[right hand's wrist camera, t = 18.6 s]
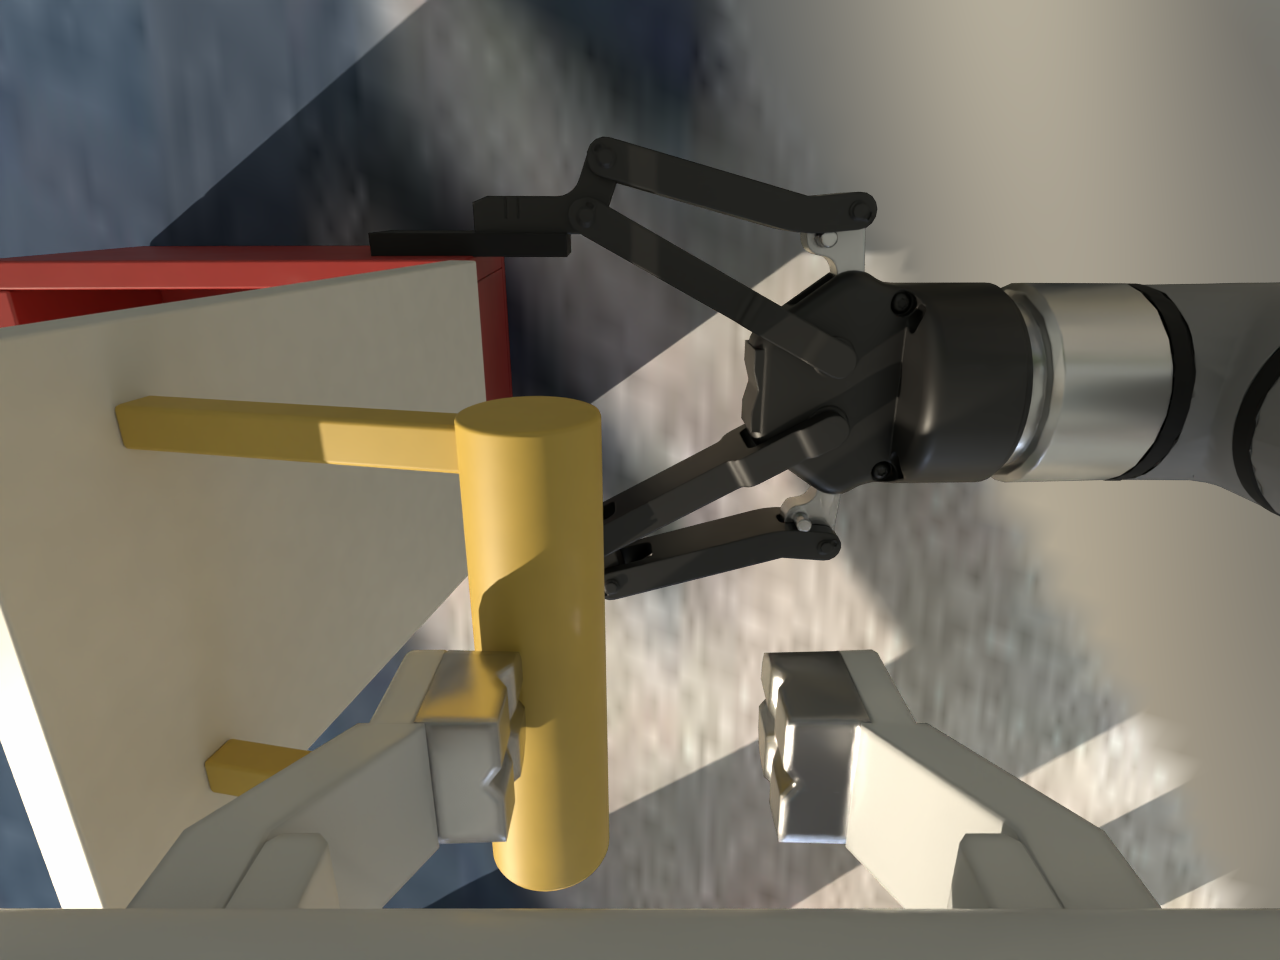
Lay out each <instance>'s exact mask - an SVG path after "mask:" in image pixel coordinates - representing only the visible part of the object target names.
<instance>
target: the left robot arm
mask: <svg viewBox="0 0 1280 960" xmlns="http://www.w3.org/2000/svg"><path fill="white" fill-rule="evenodd" d="M616 183H618V184H622V185H625V186H629V187H632V188H635V189H639V190H642V191H646V192H649V193H653V194H656V195H660V196H663V197H667V198H670V199H674V200H677V201H681V202H684V203H687V204H691V205H694V206H698V207H701V208H705V209H708V210H712V211H715V212H719V213H722V214H726V215H729V216H732V217H736V218H739V219H743V220H746V221H750V222H753V223H757V224H760V225H764V226H767V227H771V228H775V229H780V230H785V231H792V232H800V238H801V244H802V246H803V248H804V249H805V250H806V251H807V252H809V253H811V254H816V255H820V256H822V257H824V258H825V259H826V260H827V261H828V264H829V266H830V272H829V273H828V274H826V275H825V276H823V277H822V278H821V279H819V280H818V281H816V282H815V283H814V284H812V285H811V286H809V287H808V288H807V289H805V290H804V291H802V292H801V293H800V294H798V295H797V296H795V297H794V298H792V299H791V300H790V301H788V302H787V303H785V304H784V305H783V306H779V305H778V304H776V303H774V302H773V301H771V300H769V299H767V298H766V297H764V296H762V295H760V294H759V293H757V292H755V291H754V290H752V289H750V288H748V287H747V286H745V285H743V284H741V283H740V282H738V281H736V280H734V279H733V278H731V277H729V276H728V275H726V274H724V273H722V272H721V271H719V270H717V269H715V268H714V267H712V266H710V265H709V264H707V263H705V262H703V261H702V260H700V259H698V258H696V257H695V256H693V255H691V254H690V253H688V252H686V251H684V250H683V249H681V248H679V247H677V246H676V245H674V244H672V243H670V242H669V241H667V240H665V239H664V238H662V237H660V236H658V235H657V234H655V233H653V232H651V231H650V230H648V229H646V228H645V227H643V226H641V225H639V224H638V223H636V222H634V221H632V220H631V219H629V218H627V217H626V216H624V215H622V214H620V213H619V212H617V211H615V210H613V209H612V208H610V207H609V204H610V201H611V198H612V195H613V192H614V189H615V186H616ZM473 213H474V227H475V231H442V230H390V231H382V232H373V233H368V234H369V242H370V250H371V256H473V257H567V256H568V255H569V254H570V253H571V234H581V235H583V236H585V237H587V238H589V239H590V240H592V241H594V242H596V243H597V244H599V245H601V246H603V247H604V248H606V249H608V250H610V251H612V252H613V253H615V254H617V255H619V256H620V257H622V258H624V259H626V260H627V261H629V262H631V263H633V264H634V265H636V266H638V267H640V268H642V269H643V270H645V271H647V272H649V273H650V274H652V275H654V276H656V277H657V278H659V279H661V280H663V281H665V282H666V283H668V284H670V285H672V286H673V287H675V288H677V289H679V290H680V291H682V292H684V293H686V294H688V295H689V296H691V297H693V298H695V299H696V300H698V301H700V302H702V303H703V304H705V305H707V306H709V307H711V308H712V309H714V310H716V311H718V312H719V313H721V314H723V315H725V316H726V317H728V318H730V319H732V320H733V321H735V322H737V323H738V324H740V325H741V326H743V327H745V328H746V329H748V330H750V331H751V332H752V334H751V336H750V339H749V340H745V358H744V360H745V365H746V369H747V374H748V384H747V387H746V390H745V393H744V396H743V399H742V417H741V418H742V420H743V421H744V423H745V424H743V425H742V426H740V427H738V428H736V429H734V430H732V431H730V432H728V433H727V434H726V435H724V436H723V437H722V439H721V440H720V441H719V442H717V443H716V444H714V445H712V446H710V447H708V448H706V449H704V450H702V451H700V452H698V453H697V454H695V455H693V456H691V457H689V458H687V459H685V460H683V461H681V462H679V463H677V464H675V465H673V466H672V467H670V468H668V469H666V470H664V471H662V472H660V473H658V474H656V475H654V476H652V477H650V478H649V479H647V480H645V481H643V482H641V483H639V484H637V485H635V486H633V487H631V488H629V489H627V490H626V491H624V492H622V493H620V494H618V495H616V496H614V497H612V498H610V499H608V500H606V501H604V502H603V541H604V592H605V599H607V600H615V599H619V598H623V597H627V596H631V595H635V594H639V593H643V592H647V591H651V590H655V589H659V588H663V587H667V586H671V585H675V584H679V583H683V582H687V581H691V580H695V579H699V578H703V577H707V576H711V575H715V574H719V573H723V572H727V571H731V570H735V569H739V568H743V567H747V566H751V565H755V564H759V563H763V562H767V561H771V560H775V559H779V558H795V559H809V560H830V559H832V558H834V557H835V556H836V555H837V554H838V553H839V551H840V549H841V542H840V540H839V538H838V536H837V535H836V533H835V532H834V526H835V521H836V516H837V511H838V506H839V501H840V496H841V493H845V492H847V491H849V490H851V489H853V488H855V487H857V486H859V485H862V484H865V483H869V482H890V483H936V482H979V481H983V480H986V479H988V478H989V477H992V478H993V479H994V480H998V481H1002V482H1038V481H1078V480H1105V481H1120V480H1193V481H1199V482H1206V483H1210V484H1214V485H1217V486H1220V487H1222V488H1224V489H1226V490H1229V491H1231V492H1233V493H1235V494H1237V495H1239V496H1242V497H1244V498H1246V499H1248V500H1250V501H1252V502H1254V503H1256V504H1259V505H1261V506H1262V507H1264V508H1265V509H1267V510H1269V511H1270V512H1272V513H1274V514H1276V515H1279V516H1280V283H1219V284H1165V285H1141V284H1122V283H1011V284H1009V285H1007V286H1005V287H1002V288H1000V287H998V286H996V285H994V284H991V283H888V282H882V281H880V280H878V279H876V278H874V277H873V276H871V275H870V274H868V273H866V272H864V270H865V228H866V227H868V226H869V225H870V224H871V223H872V222H873V220H874V219H875V217H876V213H877V205H876V201H875V200H874V198H873V197H872V196H871V195H869V194H868V193H865V192H848V193H834V194H823V195H812V196H806V195H803V194H800V193H796V192H793V191H789V190H786V189H783V188H779V187H776V186H773V185H769V184H766V183H762V182H759V181H756V180H752V179H749V178H745V177H742V176H739V175H735V174H732V173H729V172H725V171H722V170H718V169H715V168H712V167H708V166H705V165H702V164H698V163H695V162H691V161H688V160H685V159H681V158H678V157H675V156H671V155H668V154H664V153H661V152H658V151H654V150H651V149H648V148H644V147H641V146H637V145H634V144H631V143H627V142H624V141H621V140H617V139H614V138H610V137H601V138H598V139H595V140H594V141H593V142H592V143H591V144H590V146H589V149H588V151H587V156H586V159H585V162H584V166H583V169H582V172H581V175H580V178H579V181H578V183H577V185H576V186H575V188H574V189H573V190H572V191H571V192H569V193H568V194H565V195H563V196H486V197H484V198H482V199H479V200H477V201H475V202H473ZM787 469H789V470H790V471H791V472H793V473H794V474H796V475H797V476H798V477H800V478H801V479H803V480H804V481H805V482H807V483H808V484H810V488H809V489H808V491H807V492H805V493H804V494H802V495H800V496H796V497H789V498H787V499H786V500H785V501H784V503H783V504H782V506H781V507H771V508H762V509H757V510H752V511H748V512H745V513H741V514H737V515H733V516H729V517H725V518H721V519H717V520H713V521H709V522H705V523H701V524H697V525H694V526H690V527H686V528H682V529H678V530H674V531H670V532H666V533H662V534H658V535H654V536H650V537H646V538H643V539H640V538H642V537H644V536H646V535H648V534H650V533H652V532H654V531H656V530H658V529H660V528H662V527H664V526H666V525H668V524H670V523H672V522H674V521H676V520H678V519H680V518H682V517H684V516H686V515H688V514H689V513H691V512H693V511H695V510H697V509H699V508H701V507H703V506H705V505H707V504H709V503H711V502H713V501H715V500H717V499H719V498H721V497H723V496H725V495H727V494H729V493H731V492H733V491H735V490H737V489H739V488H741V487H753V486H755V485H758V484H760V483H762V482H764V481H766V480H768V479H770V478H772V477H774V476H776V475H778V474H780V473H782V472H783V471H785V470H787ZM638 539H639V540H638Z"/></svg>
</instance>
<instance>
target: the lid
mask: <svg viewBox="0 0 1280 960" xmlns="http://www.w3.org/2000/svg"><path fill="white" fill-rule="evenodd" d="M467 576H468V579H469V590H470V601H471V612H472V623H473V634H474V645H475V651H508V652H519V653H520V655H521V659H522V672H523V682H522V687H521V691H520V695H519V700H520V702H521V703H522V704H523V705H524V707H525V718H526V742H525V752H524V761H523V767H522V772H521V776H520V777H519V778H518V779H517V780H516V781H515V782H514V789H515V805H514V810H513V815H512V819H511V824H510V828H509V833H508V837H507V842H492V843H493V854H494V859H495V862H496V864H497V866H498V868H499V869H500V871H501V872H502V873H503V874H504V875H505V876H506V878H508V879H509V880H510V881H511V882H513V883H515V884H516V885H518V886H521V887H523V888H526V889H530V890H535V891H556V890H561V889H565V888H568V887H571V886H573V885H575V884H578V883H579V882H581V881H583V880H584V879H586V878H587V877H589V876H590V875H591V874H592V873H593V872H594V871H595V870H596V869H597V868H598V867H599V865H600V864H601V862H602V861H603V859H604V857H605V855H606V852H607V850H608V846H609V797H608V746H607V695H606V644H605V592H604V541H603V490H602V439H601V414H600V412H599V410H598V409H597V408H596V407H595V406H593V405H591V404H589V403H586V402H583V401H579V400H575V399H570V398H563V397H552V396H522V397H509V398H501V399H495V400H490V401H486V391H485V378H484V364H483V351H482V337H481V324H480V311H479V297H478V284H477V270H476V262H475V261H467V260H448V261H441V262H435V263H428V264H422V265H415V266H408V267H402V268H395V269H388V270H382V271H375V272H368V273H362V274H355V275H348V276H342V277H335V278H329V279H322V280H315V281H309V282H302V283H295V284H289V285H282V286H275V287H269V288H262V289H255V290H249V291H242V292H236V293H229V294H222V295H216V296H209V297H202V298H196V299H189V300H182V301H176V302H169V303H162V304H156V305H149V306H142V307H136V308H129V309H123V310H116V311H109V312H103V313H96V314H89V315H83V316H76V317H69V318H63V319H56V320H49V321H43V322H36V323H30V324H23V325H16V326H10V327H3V328H0V740H1V743H2V746H3V749H4V751H5V754H6V757H7V759H8V762H9V765H10V768H11V770H12V773H13V776H14V779H15V781H16V784H17V787H18V789H19V792H20V795H21V798H22V800H23V803H24V806H25V809H26V811H27V814H28V817H29V819H30V822H31V825H32V828H33V830H34V833H35V836H36V838H37V841H38V844H39V847H40V849H41V852H42V855H43V858H44V860H45V863H46V866H47V868H48V871H49V874H50V877H51V879H52V882H53V885H54V887H55V890H56V893H57V896H58V898H59V901H60V904H61V907H62V909H126V907H127V906H128V905H129V903H130V902H131V900H132V899H133V898H134V896H135V895H136V894H137V892H138V891H139V890H140V888H141V887H142V886H143V884H144V883H145V882H146V880H147V879H148V878H149V876H150V875H151V873H152V872H153V871H154V869H155V868H156V867H157V865H158V864H159V863H160V861H161V860H162V859H163V857H164V856H165V855H166V853H167V852H168V851H169V849H170V848H171V846H172V845H173V844H174V842H175V841H176V840H177V838H178V837H179V836H180V834H181V833H182V832H183V830H184V829H186V828H188V827H189V826H191V825H193V824H194V823H196V822H198V821H199V820H201V819H202V818H204V817H206V816H207V815H209V814H211V813H212V812H214V811H216V810H217V809H219V808H220V807H222V806H224V805H225V804H227V803H229V802H230V801H232V800H234V799H235V798H237V797H238V796H240V795H242V794H243V793H245V792H247V791H248V790H250V789H252V788H253V787H255V786H256V785H258V784H260V783H261V782H263V781H265V780H266V779H268V778H270V777H271V776H273V775H274V774H276V773H278V772H279V771H281V770H283V769H284V768H286V767H288V766H289V765H291V764H292V763H294V762H296V761H297V760H299V759H301V758H302V757H304V756H306V755H307V754H309V753H310V752H312V751H306V750H307V749H308V748H309V747H310V746H311V745H312V744H313V743H314V742H315V741H316V740H317V739H318V737H319V736H320V735H321V734H322V733H323V732H324V731H325V730H326V729H327V728H328V727H329V726H330V724H331V723H332V722H333V721H334V720H335V719H336V718H337V717H338V716H339V715H340V714H341V713H342V711H343V710H344V709H345V708H346V707H347V706H348V705H349V704H350V703H351V702H352V701H353V699H354V698H355V697H356V696H357V695H358V694H359V693H360V692H361V691H362V690H363V689H364V688H365V686H366V685H367V684H368V683H369V682H370V681H371V680H372V679H373V678H374V677H375V676H376V675H377V673H378V672H379V671H380V670H381V669H382V668H383V667H384V666H385V665H386V664H387V663H388V661H389V660H390V659H391V658H392V657H393V656H394V655H395V654H396V653H397V652H398V651H399V650H400V648H401V647H402V646H403V645H404V644H405V643H406V642H407V641H408V640H409V639H410V638H411V637H412V635H413V634H414V633H415V632H416V631H417V630H418V629H419V628H420V627H421V626H422V625H423V624H424V622H425V621H426V620H427V619H428V618H429V617H430V616H431V615H432V614H433V613H434V612H435V610H436V609H437V608H438V607H439V606H440V605H441V604H442V603H443V602H444V601H445V600H446V599H447V597H448V596H449V595H450V594H451V593H452V592H453V591H454V590H455V589H456V588H457V587H458V586H459V584H460V583H461V582H462V581H463V580H464V579H465V578H466V577H467Z"/></svg>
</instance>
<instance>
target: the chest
mask: <svg viewBox="0 0 1280 960" xmlns="http://www.w3.org/2000/svg"><path fill="white" fill-rule="evenodd" d="M448 260H467V261H475V262H476V270H477V284H478V297H479V311H480V324H481V337H482V351H483V364H484V378H485V391H486V401H490V400H495V399H501V398H509V397H513V394H512V378H511V362H510V346H509V330H508V313H507V297H506V281H505V265H504V257H473V256H371V250H370V246H141V247H129V248H117V249H106V250H94V251H82V252H71V253H59V254H47V255H35V256H24V257H12V258H0V328H3V327H10V326H16V325H23V324H30V323H36V322H43V321H49V320H56V319H63V318H69V317H76V316H83V315H89V314H96V313H103V312H109V311H116V310H123V309H129V308H136V307H142V306H149V305H156V304H162V303H169V302H176V301H182V300H189V299H196V298H202V297H209V296H216V295H222V294H229V293H236V292H242V291H249V290H255V289H262V288H269V287H275V286H282V285H289V284H295V283H302V282H309V281H315V280H322V279H329V278H335V277H342V276H348V275H355V274H362V273H368V272H375V271H382V270H388V269H395V268H402V267H408V266H415V265H422V264H428V263H435V262H441V261H448Z"/></svg>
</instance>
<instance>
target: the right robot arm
mask: <svg viewBox="0 0 1280 960" xmlns="http://www.w3.org/2000/svg"><path fill="white" fill-rule="evenodd" d="M761 681H762V685H763V689H764V693H765V697H766V699H765V700H764V701H763V702H762V703H761V705H760V706H759V722H758V734H759V752H760V759H761V765H762V770H763V775H764V777H765V778H766V779H767V780H769V781H770V782H771V783H770V798H769V803H770V807H771V811H772V816H773V820H774V825H775V829H776V833H777V838H778V842H804V843H839V844H846V848H847V849H848V850H849V851H850V852H851V853H852V854H853V855H854V856H855V857H856V858H857V859H858V860H859V862H860V863H861V864H862V865H863V866H864V867H865V868H866V869H867V870H868V871H869V872H870V873H871V874H872V875H873V876H874V877H875V878H876V879H877V880H878V882H879V883H880V884H881V885H882V886H883V887H884V888H885V889H886V890H887V891H888V892H889V893H890V894H891V895H892V896H893V897H894V898H895V899H896V900H897V902H898V903H899V904H900V905H901V906H902V907H903V908H904V909H382V907H383V906H384V905H385V904H386V903H387V902H388V901H389V900H390V899H391V898H392V897H393V896H394V895H395V894H396V893H397V892H398V891H399V890H400V888H401V887H402V886H403V885H404V884H405V883H406V882H407V881H408V880H409V879H410V878H411V877H412V876H413V875H414V874H415V873H416V872H417V871H418V869H419V868H420V867H421V866H422V865H423V864H424V863H425V862H426V861H427V860H428V859H429V858H430V857H431V856H432V855H433V854H434V853H435V851H436V850H437V849H438V848H439V844H445V843H480V842H507V837H508V833H509V828H510V824H511V819H512V815H513V810H514V805H515V789H514V782H515V781H516V780H517V779H518V778H519V777H520V776H521V772H522V767H523V761H524V752H525V742H526V718H525V707H524V705H523V704H522V703H521V702H520V700H519V695H520V691H521V687H522V682H523V672H522V659H521V655H520V653H519V652H508V651H459V650H449V651H446V650H412V651H410V652H408V653H407V654H406V655H405V657H404V659H403V661H402V663H401V664H400V666H399V668H398V670H397V672H396V674H395V676H394V678H393V679H392V681H391V683H390V685H389V687H388V689H387V691H386V693H385V694H384V696H383V698H382V700H381V702H380V704H379V706H378V708H377V710H376V711H375V713H374V715H373V717H372V719H371V721H370V723H358V724H356V725H355V726H353V727H351V728H350V729H348V730H346V731H345V732H343V733H342V734H340V735H338V736H337V737H335V738H333V739H332V740H330V741H328V742H327V743H325V744H324V745H322V746H320V747H319V748H317V749H315V750H314V751H312V752H310V753H309V754H307V755H306V756H304V757H302V758H301V759H299V760H297V761H296V762H294V763H292V764H291V765H289V766H288V767H286V768H284V769H283V770H281V771H279V772H278V773H276V774H274V775H273V776H271V777H270V778H268V779H266V780H265V781H263V782H261V783H260V784H258V785H256V786H255V787H253V788H252V789H250V790H248V791H247V792H245V793H243V794H242V795H240V796H238V797H237V798H235V799H234V800H232V801H230V802H229V803H227V804H225V805H224V806H222V807H220V808H219V809H217V810H216V811H214V812H212V813H211V814H209V815H207V816H206V817H204V818H202V819H201V820H199V821H198V822H196V823H194V824H193V825H191V826H189V827H188V828H186V829H184V830H183V832H182V833H181V834H180V836H179V837H178V838H177V840H176V841H175V842H174V844H173V845H172V846H171V848H170V849H169V851H168V852H167V853H166V855H165V856H164V857H163V859H162V860H161V861H160V863H159V864H158V865H157V867H156V868H155V869H154V871H153V872H152V873H151V875H150V876H149V878H148V879H147V880H146V882H145V883H144V884H143V886H142V887H141V888H140V890H139V891H138V892H137V894H136V895H135V896H134V898H133V899H132V900H131V902H130V903H129V905H128V906H127V907H126V909H0V960H1280V909H1162V908H1161V907H1160V905H1159V904H1158V903H1157V901H1156V900H1155V899H1154V897H1153V896H1152V895H1151V893H1150V892H1149V891H1148V889H1147V888H1146V887H1145V885H1144V884H1143V883H1142V881H1141V880H1140V879H1139V877H1138V876H1137V875H1136V873H1135V872H1134V871H1133V869H1132V868H1131V866H1130V865H1129V864H1128V862H1127V861H1126V860H1125V858H1124V857H1123V856H1122V854H1121V853H1120V852H1119V850H1118V849H1117V848H1116V846H1115V845H1114V844H1113V842H1112V841H1111V840H1110V838H1109V837H1108V836H1107V834H1106V833H1105V832H1104V831H1103V830H1101V829H1100V828H1098V827H1097V826H1095V825H1093V824H1092V823H1090V822H1088V821H1087V820H1085V819H1083V818H1082V817H1080V816H1078V815H1077V814H1075V813H1074V812H1072V811H1070V810H1069V809H1067V808H1065V807H1064V806H1062V805H1060V804H1059V803H1057V802H1055V801H1054V800H1052V799H1051V798H1049V797H1047V796H1046V795H1044V794H1042V793H1041V792H1039V791H1037V790H1036V789H1034V788H1032V787H1031V786H1029V785H1028V784H1026V783H1024V782H1023V781H1021V780H1019V779H1018V778H1016V777H1014V776H1013V775H1011V774H1009V773H1008V772H1006V771H1005V770H1003V769H1001V768H1000V767H998V766H996V765H995V764H993V763H991V762H990V761H988V760H986V759H985V758H983V757H982V756H980V755H978V754H977V753H975V752H973V751H972V750H970V749H968V748H967V747H965V746H964V745H962V744H960V743H959V742H957V741H955V740H954V739H952V738H950V737H949V736H947V735H945V734H944V733H942V732H941V731H939V730H937V729H936V728H934V727H932V726H931V725H929V724H927V723H916V722H915V720H914V719H913V717H912V715H911V713H910V711H909V710H908V708H907V706H906V704H905V702H904V700H903V699H902V697H901V695H900V693H899V691H898V689H897V688H896V686H895V684H894V682H893V680H892V679H891V677H890V675H889V673H888V671H887V669H886V668H885V666H884V664H883V662H882V660H881V659H880V657H879V655H878V653H877V652H875V651H873V650H846V651H824V652H782V653H764V656H763V661H762V672H761Z"/></svg>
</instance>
